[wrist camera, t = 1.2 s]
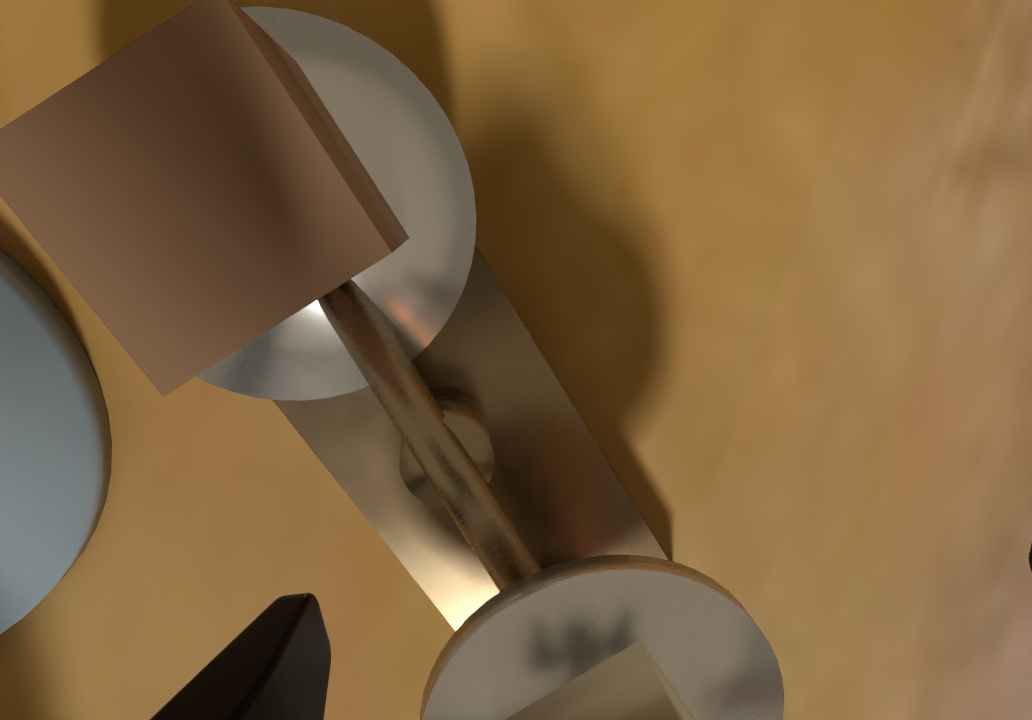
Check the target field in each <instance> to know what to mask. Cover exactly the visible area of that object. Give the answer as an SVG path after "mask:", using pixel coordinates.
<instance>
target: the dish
mask: <svg viewBox="0 0 1032 720" xmlns="http://www.w3.org/2000/svg"><path fill="white" fill-rule="evenodd" d="M111 449H112V443H111V435H110V428H109V420H108V413H107V410H106V406H105V402H104V399H103V395H102V392H101V388H100V385H99V382H98V379H97V377H96V375H95V373H94V370H93V368H92V366H91V363H90V361H89V359H88V356H87V354H86V352H85V350H84V348H83V347H82V345H81V343H80V342H79V340H78V338H77V337H76V335H75V333H74V332H73V330H72V328H71V327H70V325H69V323H68V322H67V320H66V319H65V318H64V316H63V315H62V314H61V312H60V311H59V310H58V309H57V307H56V306H55V305H54V303H53V302H52V301H51V300H50V298H49V297H48V296H47V294H46V293H45V292H44V291H43V290H42V289H41V288H40V287H39V286H38V284H37V283H36V282H35V281H34V280H33V279H32V278H31V277H30V276H29V275H28V274H27V273H26V272H25V271H24V270H23V269H22V268H21V267H20V266H19V265H18V264H17V263H16V262H15V261H14V260H12V259H11V258H10V257H9V256H8V255H6V254H5V253H4V252H3V251H1V250H0V634H1V633H3V632H4V631H6V630H7V629H8V628H10V627H11V626H13V625H14V624H15V623H17V622H18V621H20V620H21V619H22V618H24V617H25V616H26V615H27V614H28V613H29V612H30V611H31V610H32V609H33V608H34V607H35V606H36V605H37V604H38V603H39V602H40V601H41V600H43V599H44V598H45V597H46V595H47V594H48V593H49V592H50V591H51V590H52V589H53V588H54V587H55V585H56V584H57V583H58V582H59V581H60V580H61V579H62V578H63V577H64V576H65V574H66V573H67V572H68V571H69V569H70V568H71V567H72V566H73V564H74V563H75V562H76V560H77V559H78V558H79V556H80V555H81V554H82V553H83V551H84V549H85V547H86V546H87V544H88V542H89V540H90V538H91V537H92V535H93V533H94V531H95V529H96V527H97V525H98V522H99V519H100V516H101V513H102V511H103V508H104V505H105V502H106V498H107V492H108V487H109V481H110V476H111Z"/></svg>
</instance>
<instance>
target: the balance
mask: <svg viewBox="0 0 1032 720" xmlns="http://www.w3.org/2000/svg"><path fill="white" fill-rule="evenodd" d="M240 8H241V9H242V10H243V11H244V12H245V13H246V14H247V15H248V16H249V17H250V18H251V19H252V20H254V21H255V22H256V23H257V24H258V25H259V26H260V27H261V28H262V29H263V30H264V31H265V32H266V33H267V34H268V35H269V36H270V37H271V38H272V39H274V40H275V41H276V42H277V43H278V44H279V45H280V46H281V47H282V48H283V49H284V50H285V51H286V52H287V53H288V54H289V55H290V56H291V57H292V58H293V59H295V60H296V61H297V63H298V65H299V66H300V68H301V69H302V71H303V72H304V74H305V75H306V77H307V79H308V80H309V82H310V83H311V85H312V86H313V88H314V89H315V91H316V93H317V94H318V96H319V97H320V99H321V100H322V102H323V104H324V105H325V107H326V108H327V110H328V111H329V113H330V114H331V116H332V118H333V119H334V121H335V122H336V124H337V125H338V127H339V128H340V130H341V132H342V133H343V135H344V136H345V138H346V139H347V141H348V143H349V144H350V146H351V147H352V149H353V150H354V152H355V153H356V155H357V157H358V158H359V160H360V161H361V163H362V164H363V166H364V168H365V169H366V171H367V172H368V174H369V175H370V177H371V178H372V180H373V182H374V183H375V185H376V186H377V188H378V189H379V191H380V192H381V194H382V196H383V197H384V199H385V200H386V202H387V203H388V205H389V207H390V208H391V210H392V211H393V213H394V214H395V216H396V217H397V219H398V221H399V222H400V224H401V225H402V227H403V228H404V230H405V231H406V233H407V235H408V236H409V239H408V240H407V241H405V242H404V243H403V244H402V245H401V246H400V247H398V248H397V249H396V250H395V251H394V252H393V253H391V254H390V255H388V256H386V257H385V258H383V259H382V260H380V261H378V262H377V263H375V264H374V265H372V266H370V267H369V268H367V269H366V270H364V271H362V272H361V273H359V274H358V275H356V276H354V277H353V278H351V279H350V280H348V281H346V282H345V283H343V284H342V285H340V286H338V287H337V288H335V289H334V290H332V291H331V292H329V293H327V294H326V295H324V296H323V297H321V298H319V299H318V300H316V301H315V302H313V303H311V304H310V305H308V306H307V307H305V308H303V309H302V310H300V311H299V312H297V313H295V314H294V315H292V316H291V317H289V318H287V319H286V320H284V321H283V322H281V323H279V324H278V325H276V326H275V327H273V328H271V329H270V330H268V331H267V332H265V333H263V334H262V335H260V336H259V337H257V338H255V339H254V340H252V341H251V342H249V343H248V344H246V345H244V346H243V347H241V348H240V349H238V350H236V351H235V352H233V353H232V354H230V355H228V356H227V357H225V358H224V359H222V360H220V361H219V362H217V363H216V364H214V365H212V366H211V367H209V368H208V369H206V370H204V371H203V372H201V373H200V374H198V375H196V377H198V378H200V379H202V380H204V381H206V382H208V383H211V384H214V385H216V386H219V387H222V388H224V389H227V390H230V391H232V392H237V393H241V394H245V395H249V396H253V397H257V398H265V399H272V400H273V401H274V402H275V404H276V405H277V406H278V407H279V409H280V410H281V411H282V412H283V414H284V415H285V416H286V417H287V419H288V420H289V421H290V423H291V424H292V425H293V426H294V428H295V429H296V430H297V431H298V433H299V434H300V435H301V436H302V438H303V439H304V440H305V441H306V443H307V444H308V445H309V447H310V448H311V449H312V450H313V452H314V453H315V454H316V455H317V457H318V458H319V459H320V460H321V462H322V463H323V464H324V465H325V467H326V468H327V469H328V471H329V472H330V473H331V474H332V476H333V477H334V478H335V479H336V481H337V482H338V483H339V484H340V486H341V487H342V488H343V489H344V491H345V492H346V493H347V495H348V496H349V497H350V498H351V500H352V501H353V502H354V503H355V505H356V506H357V507H358V508H359V510H360V511H361V512H362V514H363V515H364V516H365V517H366V519H367V520H368V521H369V522H370V524H371V525H372V526H373V527H374V529H375V530H376V531H377V532H378V534H379V535H380V536H381V538H382V539H383V540H384V541H385V543H386V544H387V545H388V546H389V548H390V549H391V550H392V551H393V553H394V554H395V555H396V556H397V558H398V559H399V560H400V562H401V563H402V564H403V565H404V567H405V568H406V569H407V570H408V572H409V573H410V574H411V575H412V577H413V578H414V579H415V580H416V582H417V583H418V584H419V586H420V587H421V588H422V589H423V591H424V592H425V593H426V594H427V596H428V597H429V598H430V599H431V601H432V602H433V603H434V604H435V606H436V607H437V608H438V610H439V611H440V612H441V613H442V615H443V616H444V617H445V618H446V620H447V621H448V622H449V623H450V625H451V626H452V627H453V628H454V630H455V631H456V632H455V633H454V634H453V635H452V637H451V638H450V640H449V641H448V642H447V644H446V645H445V647H444V648H443V650H442V651H441V653H440V654H439V656H438V658H437V660H436V662H435V664H434V666H433V668H432V670H431V672H430V675H429V678H428V681H427V684H426V687H425V690H424V693H423V699H422V705H421V710H420V720H505V719H507V718H509V717H511V716H512V715H514V714H516V713H517V712H519V711H521V710H522V709H524V708H526V707H527V706H529V705H531V704H533V703H534V702H536V701H538V700H539V699H541V698H543V697H544V696H546V695H548V694H549V693H551V692H553V691H554V690H556V689H558V688H560V687H561V686H563V685H565V684H566V683H568V682H570V681H571V680H573V679H575V678H576V677H578V676H580V675H581V674H583V673H585V672H587V671H588V670H590V669H592V668H593V667H595V666H597V665H598V664H600V663H602V662H603V661H605V660H607V659H609V658H610V657H612V656H614V655H615V654H617V653H619V652H620V651H622V650H624V649H625V648H627V647H629V646H630V645H632V644H634V643H636V642H637V641H639V640H641V639H642V640H643V642H644V643H645V645H646V646H647V648H648V649H649V651H650V652H651V654H652V655H653V657H654V658H655V660H656V661H657V663H658V664H659V666H660V667H661V669H662V670H663V672H664V673H665V675H666V676H667V678H668V679H669V681H670V682H671V684H672V685H673V687H674V688H675V690H676V691H677V693H678V694H679V696H680V697H681V699H682V700H683V702H684V703H685V705H686V706H687V708H688V709H689V711H690V712H691V714H692V715H693V717H694V718H695V720H782V718H783V708H784V691H783V681H782V675H781V672H780V668H779V665H778V661H777V658H776V656H775V654H774V652H773V650H772V648H771V646H770V643H769V642H768V640H767V639H766V637H765V636H764V634H763V633H762V632H761V630H760V629H759V627H758V626H757V624H756V623H755V622H754V620H753V619H752V618H751V616H750V615H749V613H748V612H747V611H746V609H745V608H744V607H743V605H742V604H741V603H740V602H739V601H738V600H737V599H736V598H735V597H734V596H733V595H732V594H731V593H730V592H729V591H728V590H727V589H725V588H724V587H723V586H721V585H720V584H719V583H717V582H716V581H715V580H713V579H712V578H710V577H708V576H706V575H704V574H703V573H701V572H699V571H697V570H695V569H693V568H690V567H687V566H685V565H682V564H679V563H676V562H674V561H669V560H668V559H667V557H666V555H665V554H664V552H663V550H662V549H661V547H660V546H659V544H658V542H657V541H656V539H655V537H654V536H653V534H652V533H651V531H650V529H649V528H648V526H647V524H646V523H645V521H644V519H643V518H642V516H641V515H640V513H639V511H638V510H637V508H636V506H635V505H634V503H633V502H632V500H631V498H630V497H629V495H628V493H627V492H626V490H625V489H624V487H623V485H622V484H621V482H620V480H619V479H618V477H617V475H616V474H615V472H614V471H613V469H612V467H611V466H610V464H609V462H608V461H607V459H606V458H605V456H604V454H603V453H602V451H601V449H600V448H599V446H598V445H597V443H596V441H595V440H594V438H593V436H592V435H591V433H590V431H589V430H588V428H587V427H586V425H585V423H584V422H583V420H582V418H581V417H580V415H579V414H578V412H577V410H576V409H575V407H574V405H573V404H572V402H571V400H570V399H569V397H568V396H567V394H566V392H565V391H564V389H563V387H562V386H561V384H560V383H559V381H558V379H557V378H556V376H555V374H554V373H553V371H552V370H551V368H550V366H549V365H548V363H547V361H546V360H545V358H544V356H543V355H542V353H541V352H540V350H539V348H538V347H537V345H536V343H535V342H534V340H533V339H532V337H531V335H530V334H529V332H528V330H527V329H526V327H525V326H524V324H523V322H522V321H521V319H520V317H519V316H518V314H517V312H516V311H515V309H514V308H513V306H512V304H511V303H510V301H509V299H508V298H507V296H506V295H505V293H504V291H503V290H502V288H501V286H500V285H499V283H498V282H497V280H496V278H495V277H494V275H493V273H492V272H491V270H490V268H489V267H488V265H487V264H486V262H485V260H484V259H483V257H482V255H481V254H480V252H479V251H478V249H477V247H476V246H475V240H476V206H475V196H474V188H473V184H472V179H471V175H470V170H469V166H468V163H467V160H466V157H465V155H464V152H463V149H462V146H461V144H460V141H459V139H458V137H457V135H456V133H455V131H454V129H453V127H452V125H451V123H450V121H449V119H448V117H447V116H446V114H445V113H444V111H443V110H442V108H441V107H440V105H439V104H438V102H437V101H436V99H435V98H434V96H433V95H432V94H431V92H430V91H429V90H428V89H427V88H426V87H425V86H424V84H423V83H422V82H421V81H420V80H419V79H418V77H417V76H416V75H415V74H414V73H413V72H412V71H411V70H410V69H409V68H407V67H406V66H405V65H404V64H403V63H402V62H401V61H400V60H399V59H397V58H396V57H395V56H394V55H393V54H392V53H390V52H389V51H387V50H386V49H384V48H383V47H381V46H380V45H379V44H377V43H376V42H374V41H373V40H371V39H370V38H368V37H366V36H364V35H362V34H361V33H359V32H357V31H355V30H353V29H351V28H349V27H347V26H345V25H343V24H340V23H338V22H335V21H332V20H329V19H327V18H324V17H321V16H319V15H315V14H310V13H306V12H302V11H297V10H293V9H286V8H275V7H263V6H258V7H240Z"/></svg>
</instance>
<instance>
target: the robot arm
mask: <svg viewBox="0 0 1032 720" xmlns="http://www.w3.org/2000/svg"><path fill="white" fill-rule="evenodd" d="M1029 564H1030V568H1031V571H1032V544H1031V549H1030V553H1029ZM330 665H331V648H330V642H329V638H328V635H327V631H326V628H325V624H324V621H323V617H322V614H321V610H320V607H319V603H318V601H317V599H316V597H315V596H314V595H313V594H311V593H302V594H294V595H286V596H282V597H279V598H278V599H276V600H275V601H274V602H273V603H272V604H271V605H270V606H269V607H268V608H267V609H265V610H264V611H263V612H262V613H261V614H260V615H259V616H258V617H257V618H256V619H255V620H254V621H253V622H252V623H251V624H250V625H249V626H248V627H247V628H246V629H244V630H243V631H242V632H241V633H240V634H239V635H238V636H237V637H236V638H235V639H234V640H233V641H232V642H231V643H230V644H229V645H228V646H227V647H226V648H225V649H223V650H222V651H221V652H220V653H219V654H218V655H217V656H216V657H215V658H214V659H213V660H212V661H211V662H210V663H209V664H208V665H207V666H206V667H205V668H203V669H202V670H201V671H200V672H199V673H198V674H197V675H196V676H195V677H194V678H193V679H192V680H191V681H190V682H189V683H188V684H187V685H186V686H185V687H184V688H182V689H181V690H180V691H179V692H178V693H177V694H176V695H175V696H174V697H173V698H172V699H171V700H170V701H169V702H168V703H167V704H166V705H165V706H164V707H163V708H161V709H160V710H159V711H158V712H157V713H156V714H155V715H154V716H153V717H152V718H151V719H150V720H323V718H324V711H325V703H326V695H327V688H328V680H329V673H330Z"/></svg>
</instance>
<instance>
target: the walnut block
mask: <svg viewBox="0 0 1032 720" xmlns="http://www.w3.org/2000/svg"><path fill="white" fill-rule="evenodd" d="M0 196H1V197H2V198H3V199H4V201H5V202H6V203H7V204H8V206H9V207H10V208H11V209H12V211H13V212H14V213H15V214H16V215H17V217H18V218H19V219H20V220H21V222H22V223H23V224H24V225H25V227H26V228H27V229H28V230H29V232H30V233H31V234H32V235H33V236H34V238H35V239H36V240H37V241H38V243H39V244H40V245H41V246H42V248H43V249H44V250H45V251H46V253H47V254H48V255H49V256H50V257H51V259H52V260H53V261H54V262H55V264H56V265H57V266H58V267H59V269H60V270H61V271H62V272H63V274H64V275H65V276H66V277H67V278H68V280H69V281H70V282H71V283H72V285H73V286H74V287H75V288H76V290H77V291H78V292H79V293H80V295H81V296H82V297H83V298H84V299H85V301H86V302H87V303H88V304H89V306H90V307H91V308H92V309H93V311H94V312H95V313H96V314H97V316H98V317H99V318H100V319H101V320H102V322H103V323H104V324H105V325H106V327H107V328H108V329H109V330H110V332H111V333H112V334H113V335H114V337H115V338H116V339H117V340H118V341H119V343H120V344H121V345H122V346H123V348H124V349H125V350H126V351H127V353H128V354H129V355H130V356H131V358H132V359H133V360H134V361H135V362H136V364H137V365H138V366H139V367H140V369H141V370H142V371H143V372H144V374H145V375H146V376H147V377H148V378H149V380H150V381H151V382H152V383H153V385H154V386H155V387H156V388H157V390H158V391H159V392H160V393H161V395H162V396H165V395H166V394H168V393H169V392H171V391H173V390H174V389H176V388H177V387H179V386H180V385H182V384H184V383H185V382H187V381H188V380H190V379H192V378H193V377H195V376H196V375H198V374H200V373H201V372H203V371H204V370H206V369H208V368H209V367H211V366H212V365H214V364H216V363H217V362H219V361H220V360H222V359H224V358H225V357H227V356H228V355H230V354H232V353H233V352H235V351H236V350H238V349H240V348H241V347H243V346H244V345H246V344H248V343H249V342H251V341H252V340H254V339H255V338H257V337H259V336H260V335H262V334H263V333H265V332H267V331H268V330H270V329H271V328H273V327H275V326H276V325H278V324H279V323H281V322H283V321H284V320H286V319H287V318H289V317H291V316H292V315H294V314H295V313H297V312H299V311H300V310H302V309H303V308H305V307H307V306H308V305H310V304H311V303H313V302H315V301H316V300H318V299H319V298H321V297H323V296H324V295H326V294H327V293H329V292H331V291H332V290H334V289H335V288H337V287H338V286H340V285H342V284H343V283H345V282H346V281H348V280H350V279H351V278H353V277H354V276H356V275H358V274H359V273H361V272H362V271H364V270H366V269H367V268H369V267H370V266H372V265H374V264H375V263H377V262H378V261H380V260H382V259H383V258H385V257H386V256H388V255H390V254H391V253H393V252H394V251H395V250H396V249H397V248H398V247H400V246H401V245H402V244H403V243H404V242H405V241H407V240H408V239H409V236H408V235H407V233H406V231H405V230H404V228H403V227H402V225H401V224H400V222H399V221H398V219H397V217H396V216H395V214H394V213H393V211H392V210H391V208H390V207H389V205H388V203H387V202H386V200H385V199H384V197H383V196H382V194H381V192H380V191H379V189H378V188H377V186H376V185H375V183H374V182H373V180H372V178H371V177H370V175H369V174H368V172H367V171H366V169H365V168H364V166H363V164H362V163H361V161H360V160H359V158H358V157H357V155H356V153H355V152H354V150H353V149H352V147H351V146H350V144H349V143H348V141H347V139H346V138H345V136H344V135H343V133H342V132H341V130H340V128H339V127H338V125H337V124H336V122H335V121H334V119H333V118H332V116H331V114H330V113H329V111H328V110H327V108H326V107H325V105H324V104H323V102H322V100H321V99H320V97H319V96H318V94H317V93H316V91H315V89H314V88H313V86H312V85H311V83H310V82H309V80H308V79H307V77H306V75H305V74H304V72H303V71H302V69H301V68H300V66H299V65H298V63H297V61H296V60H295V59H293V58H292V57H291V56H290V55H289V54H288V53H287V52H286V51H285V50H284V49H283V48H282V47H281V46H280V45H279V44H278V43H277V42H276V41H275V40H274V39H272V38H271V37H270V36H269V35H268V34H267V33H266V32H265V31H264V30H263V29H262V28H261V27H260V26H259V25H258V24H257V23H256V22H255V21H254V20H252V19H251V18H250V17H249V16H248V15H247V14H246V13H245V12H244V11H243V10H242V9H241V8H240V7H239V6H238V5H237V4H236V3H235V2H234V1H233V0H198V1H196V2H195V3H193V4H192V5H190V6H189V7H187V8H186V9H184V10H183V11H181V12H179V13H178V14H176V15H175V16H173V17H172V18H170V19H169V20H167V21H166V22H164V23H163V24H161V25H159V26H158V27H156V28H155V29H153V30H152V31H150V32H149V33H147V34H146V35H144V36H143V37H141V38H140V39H138V40H136V41H135V42H133V43H132V44H130V45H129V46H127V47H126V48H124V49H123V50H121V51H120V52H118V53H116V54H115V55H113V56H112V57H110V58H109V59H107V60H106V61H104V62H103V63H101V64H100V65H98V66H97V67H95V68H93V69H92V70H90V71H89V72H87V73H86V74H84V75H83V76H81V77H80V78H78V79H77V80H75V81H74V82H72V83H70V84H69V85H67V86H66V87H64V88H63V89H61V90H60V91H58V92H57V93H55V94H54V95H52V96H50V97H49V98H47V99H46V100H44V101H43V102H41V103H40V104H38V105H37V106H35V107H34V108H32V109H31V110H29V111H27V112H26V113H24V114H23V115H21V116H20V117H18V118H17V119H15V120H14V121H12V122H11V123H9V124H7V125H6V126H4V127H3V128H1V129H0Z"/></svg>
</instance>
